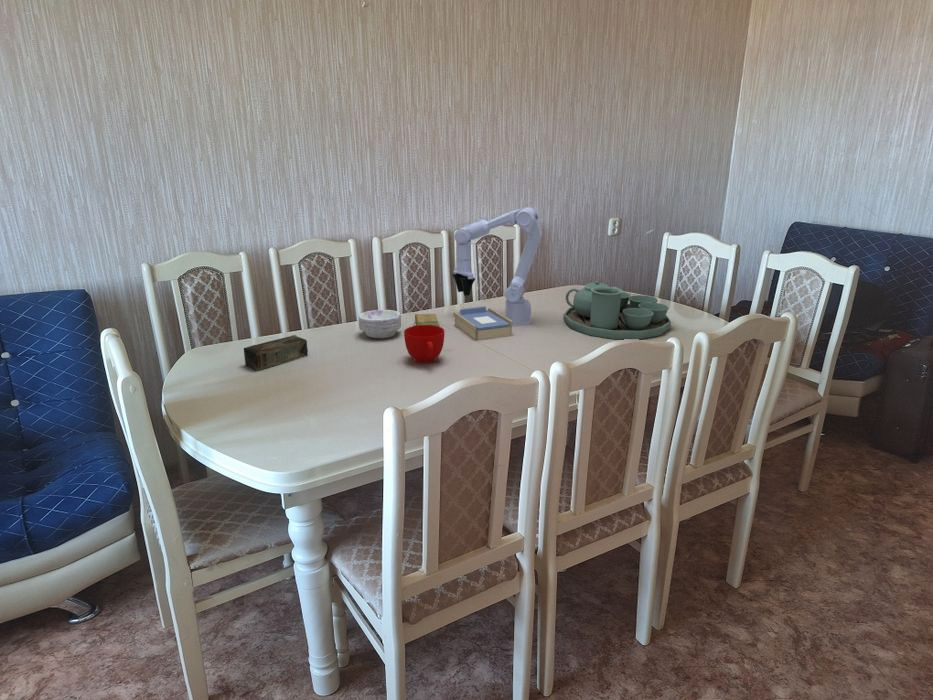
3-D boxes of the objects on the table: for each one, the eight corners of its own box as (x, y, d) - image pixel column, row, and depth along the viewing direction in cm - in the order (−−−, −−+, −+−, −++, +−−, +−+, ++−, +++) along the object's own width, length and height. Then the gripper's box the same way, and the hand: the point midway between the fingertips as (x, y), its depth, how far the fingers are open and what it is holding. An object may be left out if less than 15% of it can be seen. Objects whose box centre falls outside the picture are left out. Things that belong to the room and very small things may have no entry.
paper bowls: (379, 326, 230) (378, 306, 227) (409, 333, 222) (409, 312, 219) (350, 336, 218) (349, 315, 215) (382, 344, 210) (381, 322, 207)
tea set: (683, 341, 214) (689, 296, 209) (571, 340, 215) (574, 295, 209) (652, 310, 252) (657, 272, 246) (557, 310, 252) (559, 271, 247)
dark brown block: (309, 356, 199) (307, 337, 196) (257, 372, 185) (254, 352, 183) (295, 351, 204) (293, 332, 201) (243, 366, 190) (241, 347, 188)
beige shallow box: (489, 322, 235) (489, 307, 233) (512, 336, 218) (513, 321, 216) (453, 326, 229) (453, 311, 227) (474, 342, 212) (474, 326, 210)
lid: (486, 312, 233) (486, 305, 232) (510, 326, 216) (510, 318, 215) (456, 315, 228) (456, 308, 227) (477, 330, 211) (477, 322, 210)
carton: (436, 323, 234) (436, 313, 233) (440, 336, 219) (440, 325, 218) (414, 324, 233) (414, 313, 232) (417, 337, 218) (417, 325, 217)
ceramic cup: (411, 373, 184) (410, 342, 181) (401, 355, 199) (400, 326, 196) (452, 369, 187) (451, 338, 184) (439, 351, 203) (439, 323, 199)
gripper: (447, 256, 236) (447, 290, 240) (461, 263, 223) (461, 298, 228) (463, 255, 238) (463, 288, 243) (478, 261, 226) (478, 296, 230)
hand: (463, 293), depth 235 cm, fingers open, 6 cm apart
